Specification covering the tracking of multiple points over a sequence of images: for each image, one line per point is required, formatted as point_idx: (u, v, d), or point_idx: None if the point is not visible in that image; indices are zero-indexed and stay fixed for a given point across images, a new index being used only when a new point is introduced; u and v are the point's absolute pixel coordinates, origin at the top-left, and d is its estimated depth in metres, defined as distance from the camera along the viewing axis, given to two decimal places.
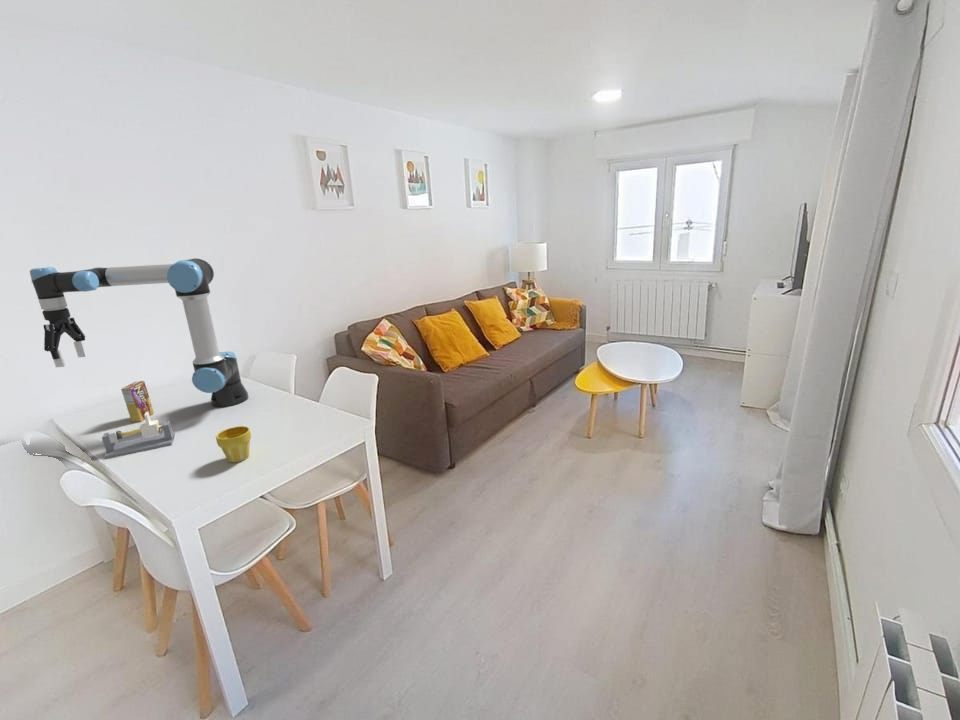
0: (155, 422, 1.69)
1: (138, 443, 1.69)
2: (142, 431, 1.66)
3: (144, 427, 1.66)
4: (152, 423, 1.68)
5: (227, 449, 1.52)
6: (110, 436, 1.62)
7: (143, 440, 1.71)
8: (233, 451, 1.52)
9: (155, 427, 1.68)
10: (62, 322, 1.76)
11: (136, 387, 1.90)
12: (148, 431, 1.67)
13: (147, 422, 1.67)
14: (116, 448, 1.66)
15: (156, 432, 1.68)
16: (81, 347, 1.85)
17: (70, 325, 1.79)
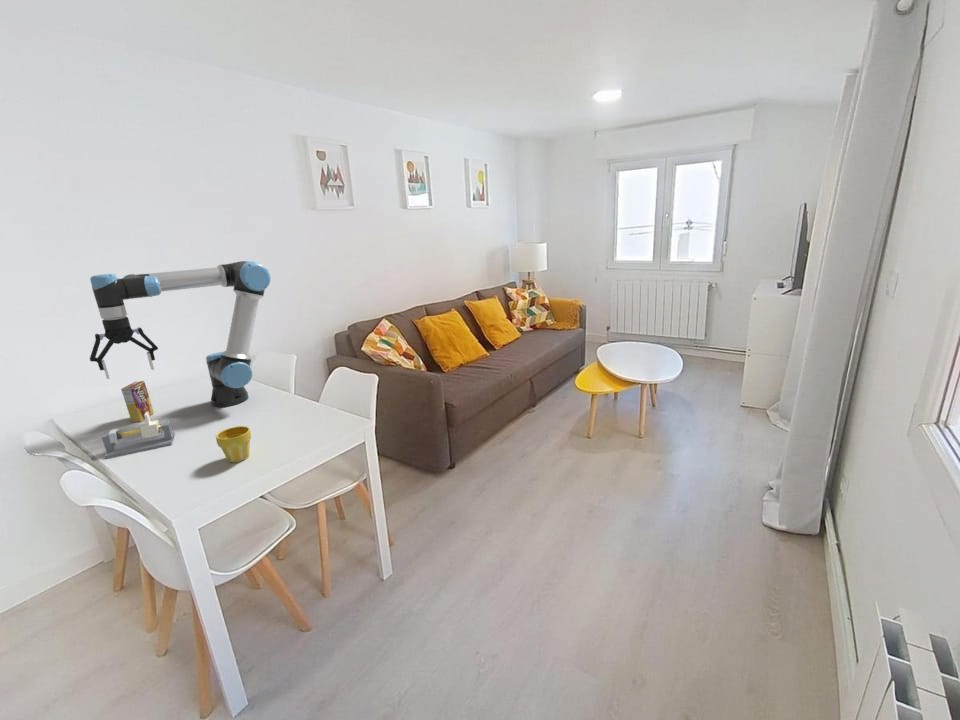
0: (155, 422, 1.69)
1: (138, 443, 1.69)
2: (142, 431, 1.66)
3: (144, 427, 1.66)
4: (152, 423, 1.68)
5: (227, 449, 1.52)
6: (110, 436, 1.62)
7: (143, 440, 1.71)
8: (233, 451, 1.52)
9: (155, 427, 1.68)
10: (118, 332, 1.65)
11: (136, 387, 1.90)
12: (148, 431, 1.67)
13: (147, 422, 1.67)
14: (116, 448, 1.66)
15: (156, 432, 1.68)
16: (149, 359, 1.73)
17: (130, 336, 1.67)
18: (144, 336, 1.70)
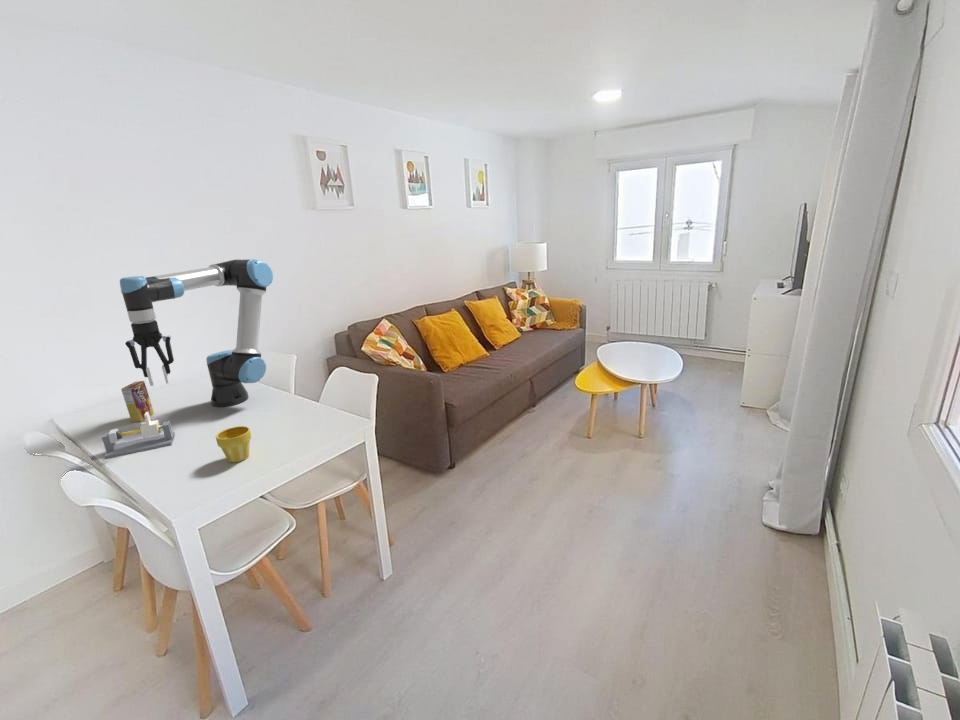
0: (155, 422, 1.69)
1: (138, 443, 1.69)
2: (142, 431, 1.66)
3: (144, 427, 1.66)
4: (152, 423, 1.68)
5: (227, 449, 1.52)
6: (110, 436, 1.62)
7: (143, 440, 1.71)
8: (233, 451, 1.52)
9: (155, 427, 1.68)
10: (146, 336, 1.61)
11: (136, 387, 1.90)
12: (148, 431, 1.67)
13: (147, 422, 1.67)
14: (116, 448, 1.66)
15: (156, 432, 1.68)
16: (163, 372, 1.66)
17: (155, 342, 1.62)
18: (167, 346, 1.64)
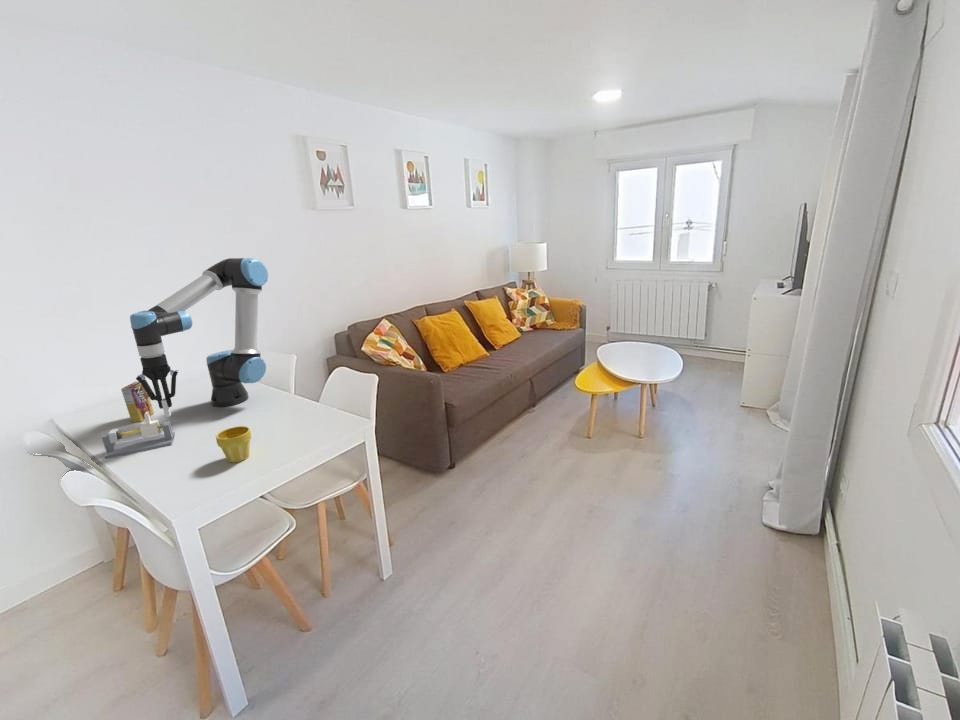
0: (155, 422, 1.69)
1: (138, 443, 1.69)
2: (142, 431, 1.66)
3: (144, 427, 1.66)
4: (152, 423, 1.68)
5: (227, 449, 1.52)
6: (110, 436, 1.62)
7: (143, 440, 1.71)
8: (233, 451, 1.52)
9: (155, 427, 1.68)
10: (155, 370, 1.64)
11: (136, 387, 1.90)
12: (148, 431, 1.67)
13: (147, 422, 1.67)
14: (116, 448, 1.66)
15: (156, 432, 1.68)
16: None
17: (163, 376, 1.65)
18: (173, 380, 1.67)
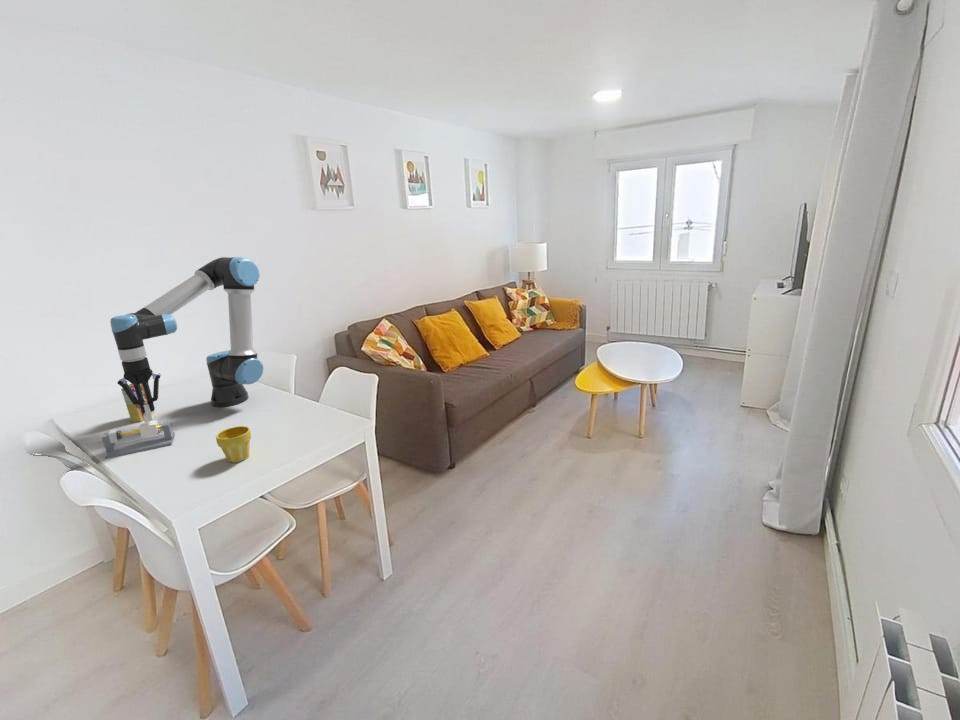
0: (154, 422, 1.69)
1: (138, 443, 1.69)
2: (142, 431, 1.66)
3: (143, 427, 1.66)
4: (151, 423, 1.68)
5: (227, 449, 1.52)
6: (110, 436, 1.62)
7: (143, 440, 1.71)
8: (233, 451, 1.52)
9: (154, 427, 1.68)
10: (137, 374, 1.62)
11: None
12: (147, 431, 1.67)
13: (146, 422, 1.66)
14: (116, 448, 1.66)
15: (155, 432, 1.68)
16: None
17: (145, 380, 1.63)
18: (155, 384, 1.65)
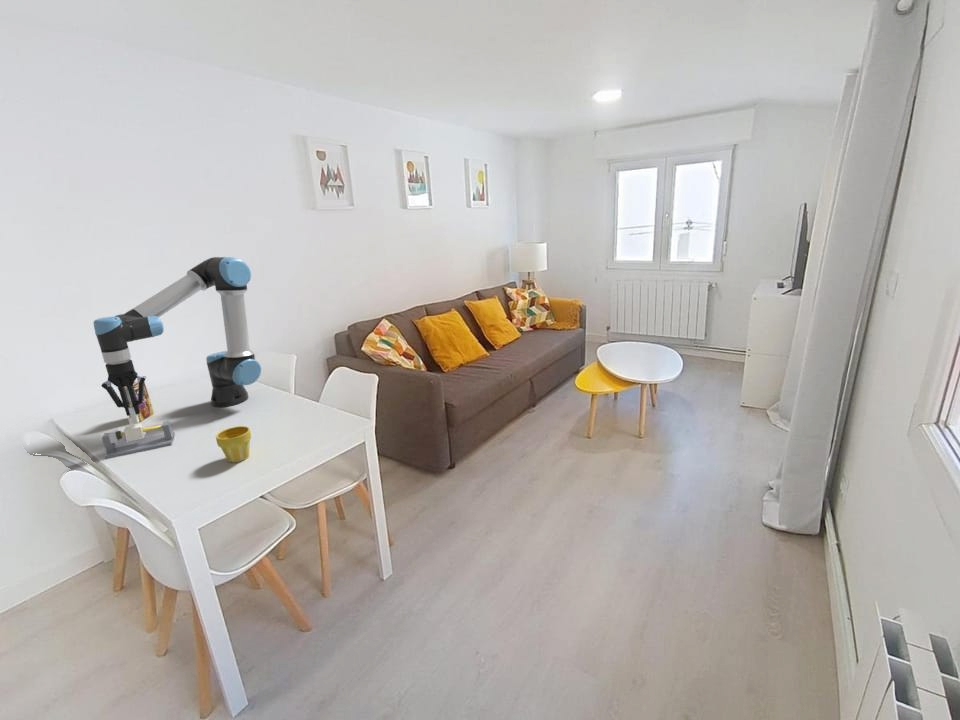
0: (139, 425, 1.67)
1: (138, 443, 1.69)
2: (126, 434, 1.64)
3: (128, 430, 1.64)
4: (136, 426, 1.66)
5: (227, 449, 1.52)
6: (110, 436, 1.62)
7: (143, 440, 1.71)
8: (233, 451, 1.52)
9: (139, 430, 1.66)
10: (121, 376, 1.60)
11: (136, 387, 1.90)
12: (132, 434, 1.65)
13: (131, 425, 1.65)
14: (116, 448, 1.66)
15: (140, 435, 1.66)
16: None
17: (129, 383, 1.61)
18: (140, 386, 1.63)
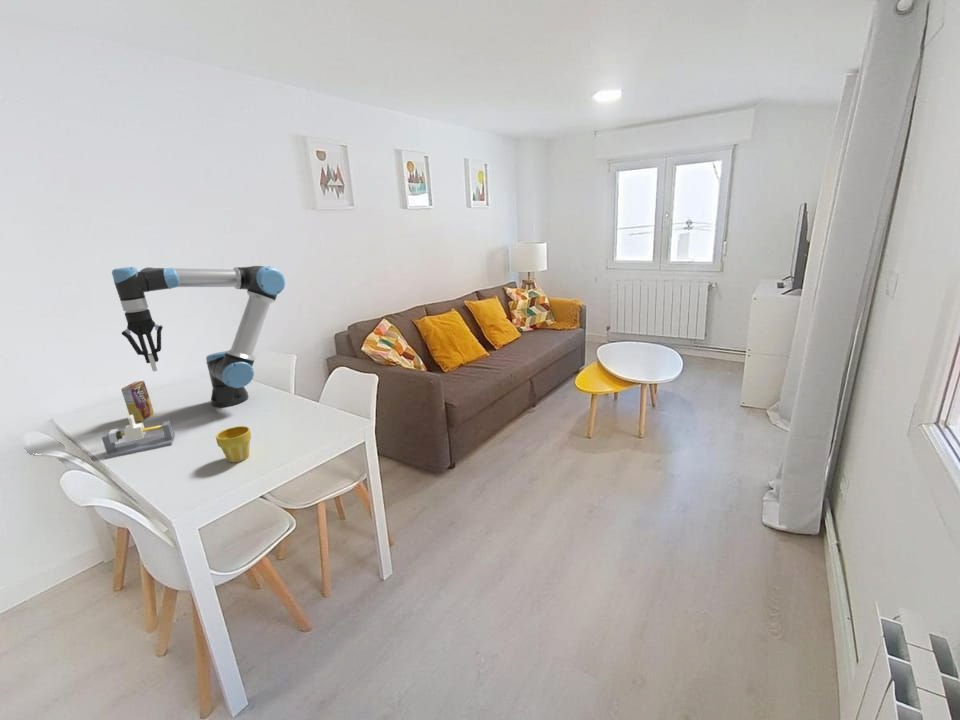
0: (139, 425, 1.67)
1: (138, 443, 1.69)
2: (126, 434, 1.64)
3: (128, 430, 1.64)
4: (136, 426, 1.66)
5: (227, 449, 1.52)
6: (110, 436, 1.62)
7: (143, 440, 1.71)
8: (233, 451, 1.52)
9: (139, 430, 1.66)
10: (140, 325, 1.68)
11: (136, 387, 1.90)
12: (132, 434, 1.65)
13: (131, 425, 1.65)
14: (116, 448, 1.66)
15: (140, 435, 1.66)
16: None
17: (148, 331, 1.70)
18: (158, 334, 1.72)
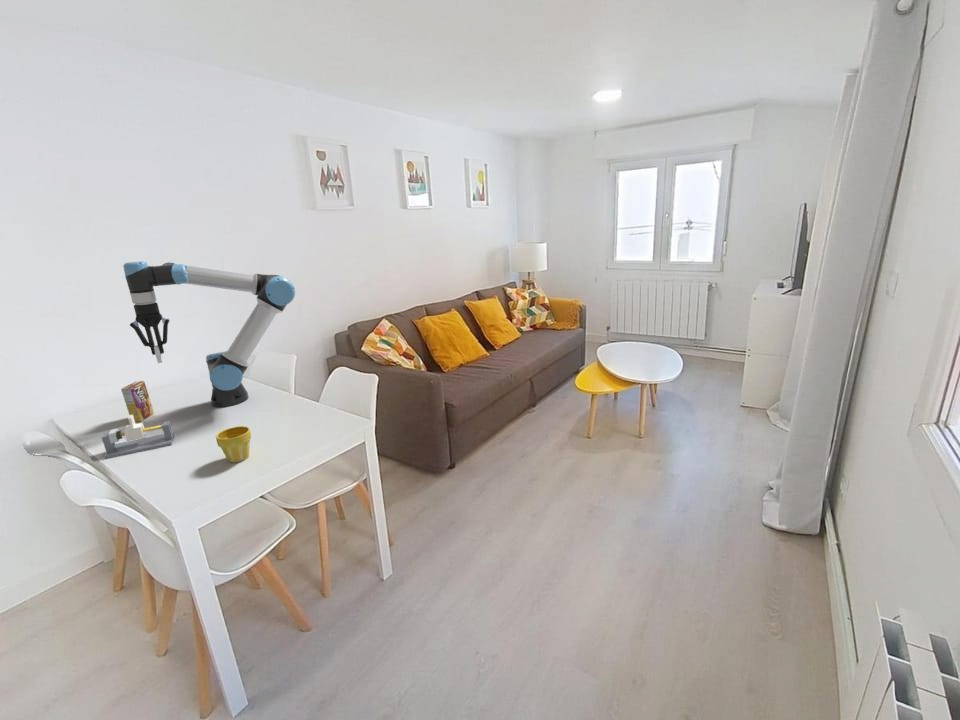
0: (139, 425, 1.67)
1: (138, 443, 1.69)
2: (126, 434, 1.64)
3: (128, 430, 1.64)
4: (136, 426, 1.66)
5: (227, 449, 1.52)
6: (110, 436, 1.62)
7: (143, 440, 1.71)
8: (233, 451, 1.52)
9: (139, 430, 1.66)
10: (148, 317, 1.74)
11: (136, 387, 1.90)
12: (132, 434, 1.65)
13: (131, 425, 1.65)
14: (116, 448, 1.66)
15: (140, 435, 1.66)
16: None
17: (155, 323, 1.75)
18: (165, 327, 1.78)
